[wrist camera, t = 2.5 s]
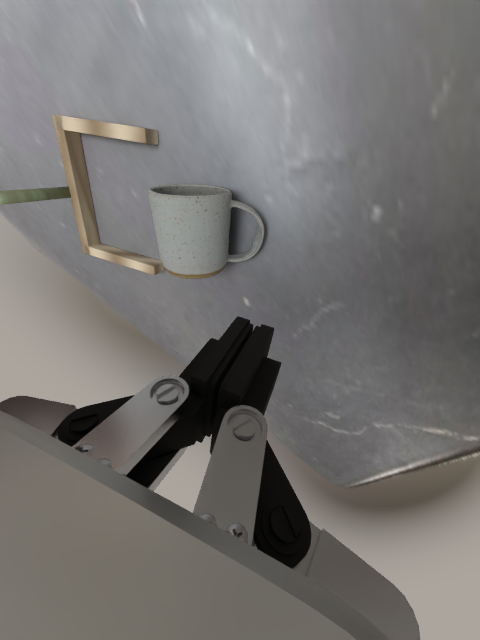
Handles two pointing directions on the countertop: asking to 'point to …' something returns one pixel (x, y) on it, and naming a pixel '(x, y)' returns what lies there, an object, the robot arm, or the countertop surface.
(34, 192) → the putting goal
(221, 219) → the ceramic mug
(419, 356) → the countertop surface
